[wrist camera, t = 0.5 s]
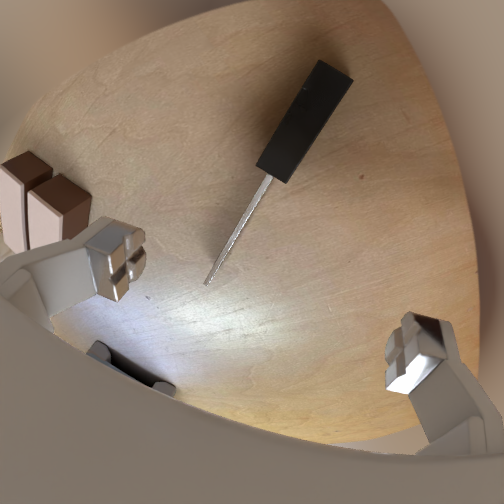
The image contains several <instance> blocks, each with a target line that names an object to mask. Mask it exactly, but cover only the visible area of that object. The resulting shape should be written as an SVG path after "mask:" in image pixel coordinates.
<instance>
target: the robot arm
mask: <svg viewBox="0 0 504 504" xmlns="http://www.w3.org/2000/svg"><path fill="white" fill-rule="evenodd" d="M144 242H145V232H144V231H143V230H142V229H141V228H138V227H135V226H133V225H130V224H127V223H124V222H121V221H118V220H115V219H112V218H109V217H106V216H104V217H100V218H99V219H98V220H96V221H95V222H94V223H92V224H91V225H90V226H88V227H87V228H86V229H84V230H83V231H82V232H81V233H79V234H78V235H77V236H75V237H74V238H73V239H72V240H69V239H65V240H62V241H58V242H55V243H51V244H48V245H44V246H41V247H38V248H34V249H31V250H28V251H24V252H21V253H18V254H15V255H12V256H8V257H7V258H5V259H4V260H3V261H2V262H1V263H0V504H504V429H503V422H502V416H501V415H500V413H499V412H498V410H497V409H496V407H495V406H494V404H493V403H492V401H491V400H490V398H489V397H488V395H487V394H486V393H485V391H484V390H483V388H482V387H481V385H480V384H479V383H478V381H477V380H476V378H475V377H474V376H473V374H472V373H471V371H470V370H469V369H468V367H467V366H466V365H465V364H464V363H461V359H460V355H459V351H458V347H457V343H456V339H455V335H454V331H453V327H452V325H451V323H450V322H449V321H445V320H441V319H437V318H436V319H435V318H431V317H428V316H424V315H421V314H417V313H414V312H410V311H409V312H407V313H406V314H405V315H404V317H403V318H402V319H401V325H402V326H401V327H399V328H397V329H395V330H394V331H393V332H392V334H391V335H390V337H389V339H388V342H387V344H386V349H385V360H386V362H387V363H388V365H389V367H388V369H387V370H386V371H385V386H386V390H390V391H395V392H400V393H404V394H409V395H408V396H409V399H410V401H411V403H412V405H413V407H414V409H415V411H416V414H417V416H418V418H419V420H420V423H421V425H422V427H423V429H424V432H425V434H426V436H427V438H428V440H429V443H430V444H429V445H427V446H425V447H424V448H422V449H420V450H419V451H418V452H417V453H416V455H403V454H390V453H381V452H371V451H364V450H356V449H350V448H343V447H337V446H332V445H326V444H321V443H316V442H311V441H307V440H302V439H298V438H294V437H289V436H285V435H281V434H278V433H274V432H270V431H266V430H263V429H259V428H256V427H253V426H249V425H246V424H243V423H240V422H237V421H233V420H230V419H227V418H225V417H222V416H219V415H216V414H213V413H210V412H208V411H205V410H202V409H200V408H197V407H194V406H192V405H189V404H187V403H184V402H182V401H179V400H177V399H175V398H172V397H170V396H168V395H165V394H163V393H161V392H159V391H156V390H154V389H152V388H150V387H148V386H146V385H143V384H141V383H139V382H137V381H135V380H133V379H131V378H129V377H127V376H125V375H123V374H121V373H119V372H117V371H115V370H114V369H112V368H110V367H108V366H106V365H104V364H103V363H101V362H99V361H97V360H95V359H94V358H92V357H90V356H88V355H87V354H85V353H83V352H82V351H80V350H78V349H77V348H75V347H73V346H72V345H70V344H69V343H67V342H65V341H64V340H62V339H61V338H59V337H58V336H56V335H55V334H53V333H54V327H53V325H52V323H51V321H50V319H49V318H50V317H52V316H54V315H56V314H58V313H60V312H62V311H64V310H66V309H68V308H70V307H72V306H74V305H76V304H78V303H80V302H82V301H85V300H87V299H89V298H91V297H93V296H95V295H96V293H97V294H99V295H101V296H103V297H106V298H108V299H110V300H113V301H115V302H117V303H118V301H119V300H120V299H121V298H122V297H123V296H124V294H125V293H126V292H127V291H128V290H129V283H130V282H133V281H136V280H137V279H138V278H139V277H140V276H141V275H142V272H143V270H144V268H145V265H146V252H145V250H144V249H143V247H142V244H143V243H144Z"/></svg>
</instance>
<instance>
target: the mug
mask: <svg viewBox="0 0 504 504" xmlns="http://www.w3.org/2000/svg"><path fill="white" fill-rule="evenodd" d="M12 255H15V253H14V252H13V251H12V250H11V249H10V248H9V247H8V246H7V244H6V243H5V242H4V236H3V232H2V233H0V263H1V262H2V261H3V260H4V259H5V258H7V257H8V256H12Z"/></svg>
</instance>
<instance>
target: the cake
mask: <svg viewBox="0 0 504 504" xmlns="http://www.w3.org/2000/svg"><path fill="white" fill-rule="evenodd" d="M91 198H92V196H91V195H90V194H88V193H87V192H85V191H84V190H82V189H81V188H79V187H78V186H76V185H75V184H74V183H72V182H71V181H69V180H68V179H66V178H65V177H64V176H62V175H61V174H59V175H57V176H55V177H53V178H52V168H51V167H50V166H48V165H47V164H45V163H44V162H43V161H41V160H40V159H38V158H37V157H36V156H34V155H33V154H32V153H30V152H29V151H27V152H25V153H23V154H21V155H19V156H17V157H15V158H13V159H10V160H8V161H6V162H5V163H3V164H1V165H0V212H1V221H2V229H3V236H4V242H5V243H6V244H7V246H8V247H9V248H10V249H11V250H12V251H13V252H14V253H15V254H18V253H21V252H24V251H28V250H31V249H34V248H38V247H41V246H44V245H48V244H51V243H55V242H58V241H62V240H65V239H69V240H72V239H73V238H74V237H75V236H77V235H78V234H79V233H81V232H82V231H83V230H84V229H86V228H87V227H88V219H89V211H90V205H91Z"/></svg>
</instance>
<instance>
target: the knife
mask: <svg viewBox="0 0 504 504" xmlns="http://www.w3.org/2000/svg"><path fill="white" fill-rule="evenodd" d="M353 81H354V80H353V79H351V78H350V77H348V76H346V75H345V74H343V73H342V72H340V71H338V70H337V69H335V68H333V67H332V66H330V65H328V64H327V63H325V62H323V61H321V60H318V62H317V64H316V65H315V67H314V68H313V70H312V71H311V73H310V75H309V76H308V78H307V79H306V81H305V83H304V84H303V86H302V88H301V89H300V91H299V92H298V94H297V96H296V97H295V99H294V101H293V102H292V104H291V106H290V107H289V109H288V111H287V112H286V114H285V116H284V117H283V119H282V121H281V122H280V124H279V126H278V127H277V129H276V131H275V132H274V134H273V136H272V138H271V139H270V141H269V143H268V144H267V146H266V148H265V150H264V151H263V153H262V155H261V156H260V158H259V160H258V162H257V163H256V166H257V167H259V168H260V169H262V170H264V171H265V172H267V175H266V177H265V178H264V180H263V182H262V183H261V185H260V187H259V188H258V190H257V192H256V193H255V195H254V197H253V199H252V200H251V202H250V204H249V205H248V207H247V209H246V210H245V212H244V214H243V215H242V217H241V219H240V221H239V222H238V224H237V226H236V227H235V229H234V231H233V233H232V234H231V236H230V238H229V240H228V241H227V243H226V245H225V246H224V248H223V250H222V252H221V253H220V255H219V257H218V259H217V260H216V262H215V264H214V266H213V267H212V269H211V271H210V273H209V275H208V276H207V278H206V280H205V282H204V285H206V286H208V285H209V283H210V282H211V280H212V279H213V277H214V275H215V274H216V272H217V271H218V269H219V267H220V266H221V264H222V262H223V261H224V259H225V257H226V255H227V254H228V252H229V250H230V249H231V247H232V245H233V244H234V242H235V240H236V239H237V237H238V235H239V234H240V232H241V230H242V229H243V227H244V225H245V224H246V222H247V221H248V219H249V217H250V216H251V214H252V212H253V211H254V209H255V207H256V206H257V204H258V202H259V201H260V199H261V198H262V196H263V194H264V193H265V191H266V189H267V188H268V186H269V184H270V183H271V181H272V180H273V178H274V177H275V178H277V179H278V180H280V181H282V182H283V183H285V184H286V183H287V182H288V181H289V179H290V177H291V176H292V174H293V173H294V171H295V170H296V168H297V167H298V165H299V164H300V162H301V161H302V159H303V157H304V156H305V154H306V153H307V151H308V150H309V148H310V147H311V145H312V144H313V142H314V141H315V139H316V138H317V136H318V134H319V133H320V131H321V130H322V128H323V127H324V125H325V124H326V122H327V121H328V119H329V118H330V116H331V115H332V113H333V112H334V110H335V109H336V107H337V106H338V104H339V102H340V101H341V99H342V98H343V96H344V95H345V93H346V92H347V90H348V89H349V87H350V86H351V84H352V83H353Z"/></svg>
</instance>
